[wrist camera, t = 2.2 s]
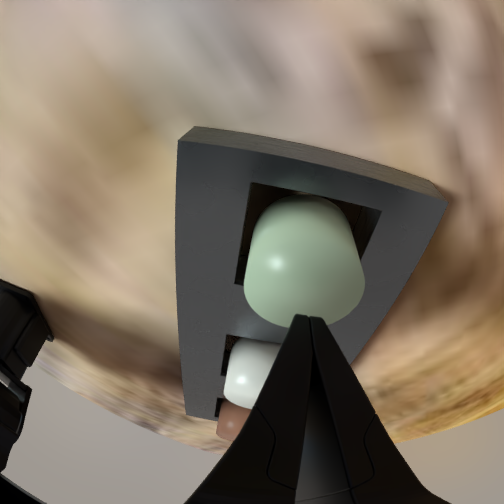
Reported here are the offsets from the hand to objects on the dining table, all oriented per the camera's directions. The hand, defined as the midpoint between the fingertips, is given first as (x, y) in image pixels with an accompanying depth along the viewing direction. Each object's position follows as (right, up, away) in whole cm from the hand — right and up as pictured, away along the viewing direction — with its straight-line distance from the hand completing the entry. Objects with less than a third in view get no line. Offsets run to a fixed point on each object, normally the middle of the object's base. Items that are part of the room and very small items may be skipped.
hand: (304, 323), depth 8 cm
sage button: (0, +3, +3) cm, 4 cm away
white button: (-1, -4, +9) cm, 10 cm away
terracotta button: (-2, -11, +14) cm, 18 cm away
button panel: (-1, -3, +10) cm, 10 cm away
